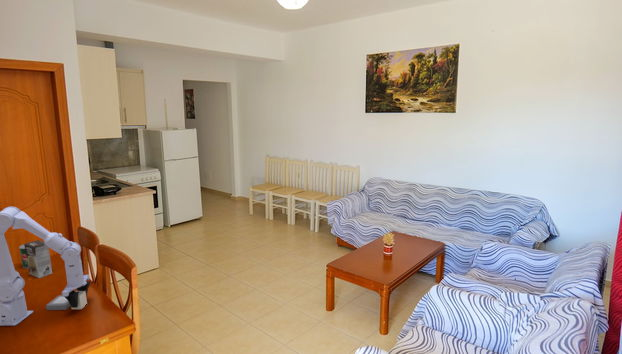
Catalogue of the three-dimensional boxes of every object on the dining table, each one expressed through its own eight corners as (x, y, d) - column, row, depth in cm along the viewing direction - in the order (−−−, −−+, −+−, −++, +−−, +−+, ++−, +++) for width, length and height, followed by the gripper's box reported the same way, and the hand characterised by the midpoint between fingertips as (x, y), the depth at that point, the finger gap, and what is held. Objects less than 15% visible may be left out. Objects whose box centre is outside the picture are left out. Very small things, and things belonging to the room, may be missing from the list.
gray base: (66, 309, 151) (65, 305, 151) (46, 309, 151) (45, 305, 151) (78, 299, 159) (77, 295, 158) (59, 299, 159) (59, 295, 158)
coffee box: (28, 274, 182) (23, 243, 179) (43, 269, 188) (38, 239, 185) (38, 278, 178) (33, 247, 175) (53, 273, 184) (48, 242, 181)
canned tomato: (38, 260, 198) (35, 241, 196) (43, 264, 194) (40, 244, 191) (20, 265, 192) (17, 245, 190) (25, 269, 188) (21, 249, 185)
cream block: (81, 309, 151) (79, 295, 150) (71, 309, 151) (69, 295, 150) (87, 304, 155) (85, 290, 154) (77, 304, 155) (75, 290, 154)
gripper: (72, 281, 143) (77, 313, 146) (94, 265, 157) (98, 294, 160) (54, 281, 143) (59, 313, 146) (78, 265, 157) (82, 294, 160)
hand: (79, 303), depth 153 cm, fingers open, 5 cm apart
